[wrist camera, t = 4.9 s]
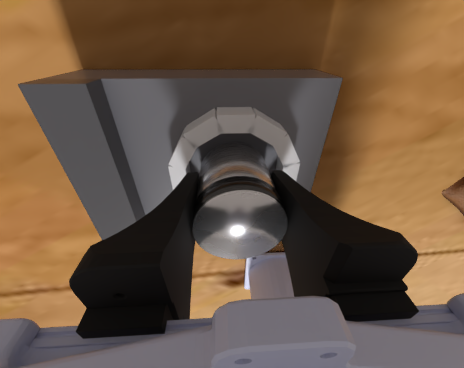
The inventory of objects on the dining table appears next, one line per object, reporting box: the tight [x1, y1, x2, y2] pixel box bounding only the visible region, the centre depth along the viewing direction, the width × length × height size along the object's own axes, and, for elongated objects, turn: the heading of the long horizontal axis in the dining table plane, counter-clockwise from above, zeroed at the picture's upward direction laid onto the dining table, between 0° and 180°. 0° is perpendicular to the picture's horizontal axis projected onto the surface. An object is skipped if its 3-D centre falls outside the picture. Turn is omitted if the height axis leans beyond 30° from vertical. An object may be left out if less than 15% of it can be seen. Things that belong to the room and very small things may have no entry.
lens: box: [192, 142, 288, 259], centre depth 12 cm, size 4×4×5 cm
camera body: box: [18, 69, 343, 240], centre depth 15 cm, size 16×11×6 cm
